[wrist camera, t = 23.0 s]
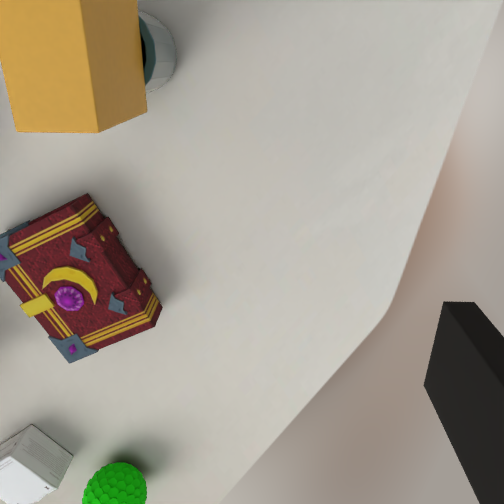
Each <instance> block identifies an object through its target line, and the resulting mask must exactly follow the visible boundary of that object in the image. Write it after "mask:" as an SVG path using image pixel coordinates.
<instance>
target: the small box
mask: <svg viewBox="0 0 504 504" xmlns="http://www.w3.org/2000/svg"><path fill="white" fill-rule="evenodd" d="M72 458H73V456H72V455H71V454H69V453H68V452H67V451H66V450H64V449H63V448H62V447H61V446H59V445H58V444H56V443H55V442H54V441H53V440H51V439H50V438H49V437H47V436H46V435H45V434H44V433H42V432H41V431H40V430H39V429H37V428H36V427H35V426H33V425H30V426H29V427H27V428H26V429H24V430H23V431H21V432H20V433H18V434H17V435H15V436H14V437H12V438H11V439H9V440H8V441H6V442H5V443H3V444H1V445H0V499H2V500H3V501H5V502H6V503H7V504H32V503H35V502H38V501H40V500H41V499H42V498H43V497H44V496H46V495H48V494H50V493H51V492H53V491H55V490H57V489H58V487H59V485H60V483H61V481H62V479H63V477H64V475H65V473H66V470H67V468H68V466H69V464H70V462H71V460H72Z"/></svg>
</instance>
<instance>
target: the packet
mask: <svg viewBox="0 0 504 504" xmlns="http://www.w3.org/2000/svg"><path fill="white" fill-rule="evenodd" d="M0 61H1V65H2V69H3V74H4V78H5V83H6V87H7V92H8V96H9V101H10V105H11V109H12V114H13V118H14V123H15V127H16V131H17V132H51V133H99V132H102V131H104V130H106V129H109V128H111V127H113V126H116V125H118V124H120V123H123V122H125V121H127V120H130V119H132V118H134V117H137V116H139V115H141V114H144V113H146V112H147V102H146V91H145V81H144V70H143V59H142V49H141V38H140V28H139V17H138V6H137V0H0Z"/></svg>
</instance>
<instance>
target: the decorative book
mask: <svg viewBox="0 0 504 504" xmlns="http://www.w3.org/2000/svg"><path fill="white" fill-rule="evenodd" d="M118 234H119V233H118V231H117V230H116V228H115V227H114V225H113V224H112V222H111V221H110V219H109V218H108V217H106V218H104V217H103V216H102V214H101V213H100V211H99V210H98V208H97V207H96V205H95V204H94V202H93V200H92V199H91V197H90V196H89V194H88V193H87V194H85V195H83V196H81V197H79V198H77V199H75V200H73V201H71V202H69V203H67V204H65V205H63V206H61V207H59V208H57V209H55V210H53V211H51V212H49V213H47V214H45V215H43V216H41V217H39V218H37V219H35V220H33V221H31V222H30V220H29V221H27V222H25V223H23V224H21V225H19V226H17V227H15V228H13V229H11V230H9V231H7V232H5V233H3V234H1V235H0V279H1V280H2V281H3V282H4V281H6V282H7V284H8V285H9V286H10V287H11V289H12V290H13V291H14V292H15V293H16V295H17V296H18V297H19V298H20V300H21V301H22V302H23V303H22V304H21V305H20V307H21V308H22V309H23V310H24V312H25V313H26V314H27V315H28V316H29V318H30V317H32V316H34V317H35V318H36V319H37V320H38V322H39V323H40V324H41V325H42V327H43V328H44V329H45V330H46V332H47V333H48V334H49V337H48V338H49V339H50V340H51V341H52V343H53V344H54V345H55V346H56V348H57V349H58V350H59V351H60V353H61V354H62V355H63V356H64V358H65V359H66V360H67V361H68V363H69V364H70V363H72V362H75V361H77V360H79V359H82V358H84V357H87V356H89V355H91V354H94V353H96V352H98V351H99V349H101V348H104V347H106V346H108V345H111V344H113V343H116V342H118V341H121V340H123V339H126V338H128V337H131V336H133V335H136V334H138V333H141V332H143V331H145V330H148V329H150V328H153V327H155V325H156V322H157V320H158V317H159V315H160V312H161V310H162V308H163V307H162V305H161V304H160V302H159V301H158V299H157V298H156V296H155V295H154V293H153V292H152V290H151V289H150V286H151V282H150V280H149V279H148V277H147V276H146V274H145V273H144V271H143V270H142V269H140V270H138V269H137V267H136V266H135V264H134V263H133V261H132V260H131V258H130V257H129V255H128V254H127V252H126V251H125V249H124V248H123V246H122V245H121V243H120V242H119V240H118V238H117V237H116V236H117V235H118Z"/></svg>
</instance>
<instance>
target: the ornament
mask: <svg viewBox="0 0 504 504" xmlns="http://www.w3.org/2000/svg"><path fill="white" fill-rule="evenodd" d="M146 490H147V487H146V481H145V480H144V478H143V475H142V473H141V472H139V471H138V469H137V468H136V467H133V466H132V465H131V464H127V463H124V462H121V463H119V462H116V463H114V464H112V463H111V464H108V465H107V466H104V467H102V468H101V469H100V470H99V471H97V472H96V473H95V474H94V476H93V478H92V479H90V480H89V482H88V484H87V488H86V489H85V490H84V497H83V498H82V504H145V501H146V498H147V496H146V495H147V491H146Z"/></svg>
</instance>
